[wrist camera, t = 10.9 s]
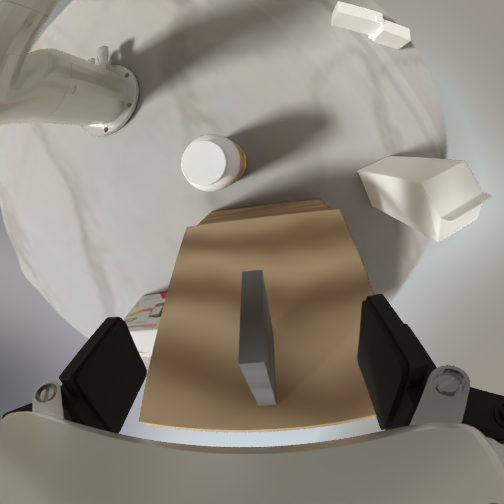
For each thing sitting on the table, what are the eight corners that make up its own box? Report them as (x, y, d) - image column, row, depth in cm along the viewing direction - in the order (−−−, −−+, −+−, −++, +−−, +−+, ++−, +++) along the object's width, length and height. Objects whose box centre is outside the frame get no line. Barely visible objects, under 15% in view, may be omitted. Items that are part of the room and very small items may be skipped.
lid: (188, 233, 29) (169, 177, 25) (339, 215, 27) (340, 154, 23) (144, 424, 14) (79, 383, 10) (401, 410, 12) (452, 361, 8)
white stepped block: (309, 21, 30) (314, 4, 24) (352, -6, 27) (361, -22, 21) (380, 85, 32) (395, 76, 27) (417, 54, 29) (433, 44, 24)
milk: (356, 170, 37) (439, 185, 16) (389, 155, 36) (485, 161, 15) (371, 207, 39) (455, 255, 18) (403, 191, 37) (498, 226, 16)
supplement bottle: (248, 183, 39) (237, 195, 27) (203, 186, 39) (174, 198, 27) (246, 138, 37) (234, 128, 24) (200, 141, 37) (170, 134, 25)
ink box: (183, 288, 45) (159, 327, 34) (192, 313, 47) (172, 356, 35) (140, 295, 46) (110, 331, 35) (150, 318, 48) (124, 358, 37)
